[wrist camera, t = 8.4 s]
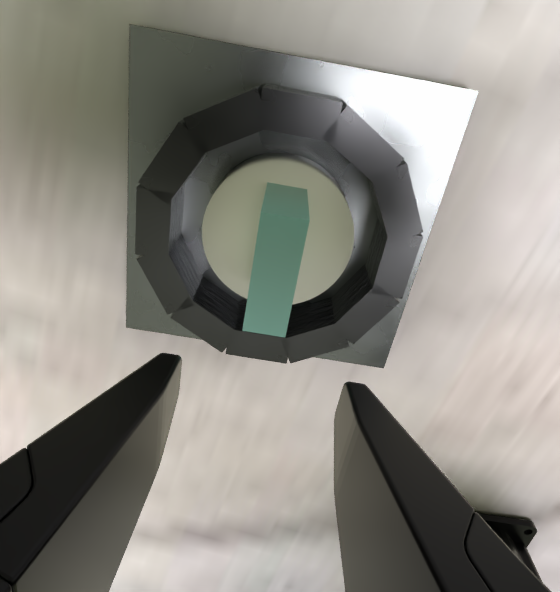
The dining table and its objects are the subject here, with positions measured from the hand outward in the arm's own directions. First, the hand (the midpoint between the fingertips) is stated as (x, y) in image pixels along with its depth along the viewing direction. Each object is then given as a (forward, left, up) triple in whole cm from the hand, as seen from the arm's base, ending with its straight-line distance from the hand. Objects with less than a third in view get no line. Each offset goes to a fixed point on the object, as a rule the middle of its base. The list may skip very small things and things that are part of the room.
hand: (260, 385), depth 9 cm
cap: (0, 0, -10) cm, 10 cm away
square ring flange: (0, 0, -11) cm, 11 cm away
